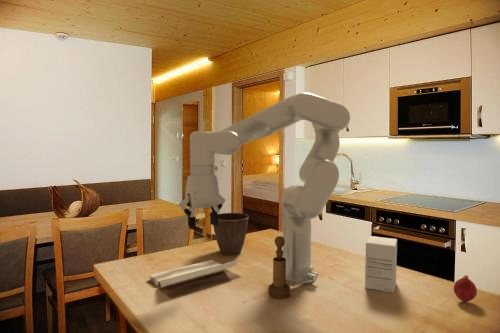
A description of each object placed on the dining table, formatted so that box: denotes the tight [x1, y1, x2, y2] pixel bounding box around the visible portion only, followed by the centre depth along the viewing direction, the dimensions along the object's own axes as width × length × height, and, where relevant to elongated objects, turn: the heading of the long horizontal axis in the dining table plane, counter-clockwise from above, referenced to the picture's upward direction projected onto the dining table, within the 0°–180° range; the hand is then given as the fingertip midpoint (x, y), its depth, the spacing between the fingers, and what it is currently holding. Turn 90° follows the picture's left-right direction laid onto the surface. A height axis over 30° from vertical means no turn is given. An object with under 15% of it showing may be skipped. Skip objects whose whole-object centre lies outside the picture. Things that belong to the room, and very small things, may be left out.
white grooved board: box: [147, 259, 242, 300], centre depth 119 cm, size 17×26×3 cm, turn 129°
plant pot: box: [212, 212, 249, 256], centre depth 147 cm, size 15×15×16 cm
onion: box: [453, 274, 478, 303], centre depth 104 cm, size 6×6×8 cm
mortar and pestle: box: [267, 235, 291, 300], centre depth 109 cm, size 7×6×18 cm
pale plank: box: [160, 260, 239, 287], centre depth 116 cm, size 9×24×2 cm, turn 129°
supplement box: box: [364, 235, 398, 294], centre depth 116 cm, size 9×9×15 cm
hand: (203, 226), depth 114 cm, fingers open, 7 cm apart
